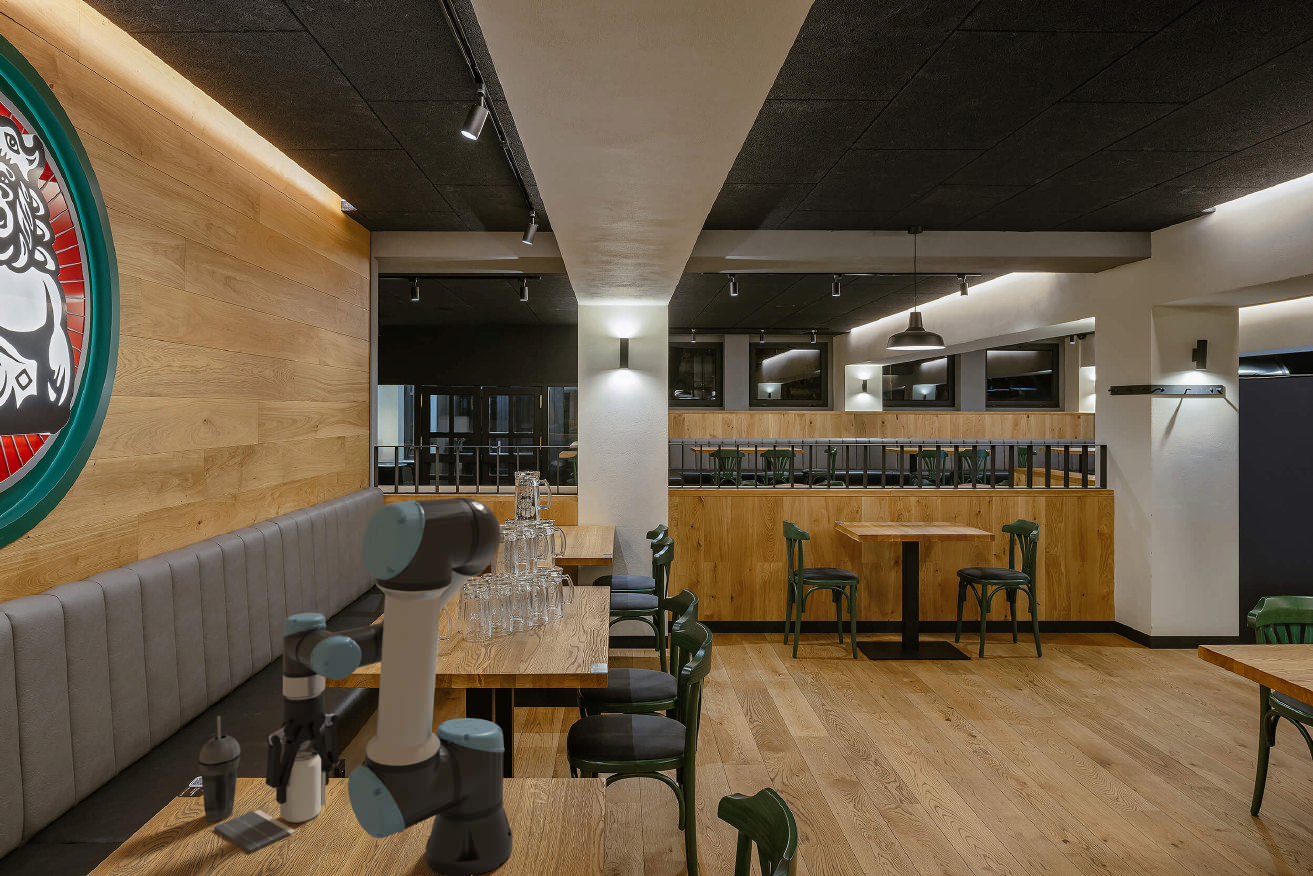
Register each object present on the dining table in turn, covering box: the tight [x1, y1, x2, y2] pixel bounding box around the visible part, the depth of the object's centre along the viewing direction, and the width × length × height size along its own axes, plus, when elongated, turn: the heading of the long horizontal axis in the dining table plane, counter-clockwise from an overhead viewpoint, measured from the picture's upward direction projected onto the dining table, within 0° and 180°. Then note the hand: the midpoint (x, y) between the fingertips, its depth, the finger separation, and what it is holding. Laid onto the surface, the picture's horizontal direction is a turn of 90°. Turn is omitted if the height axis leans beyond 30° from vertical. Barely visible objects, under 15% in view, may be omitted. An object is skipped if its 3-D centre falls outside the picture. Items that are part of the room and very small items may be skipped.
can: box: [287, 748, 322, 824], centre depth 142 cm, size 6×6×12 cm
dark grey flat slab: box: [214, 809, 297, 854], centre depth 136 cm, size 14×8×1 cm, turn 56°
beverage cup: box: [197, 715, 242, 823], centre depth 141 cm, size 7×7×20 cm
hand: (303, 810), depth 142 cm, fingers closed on can, 6 cm apart
